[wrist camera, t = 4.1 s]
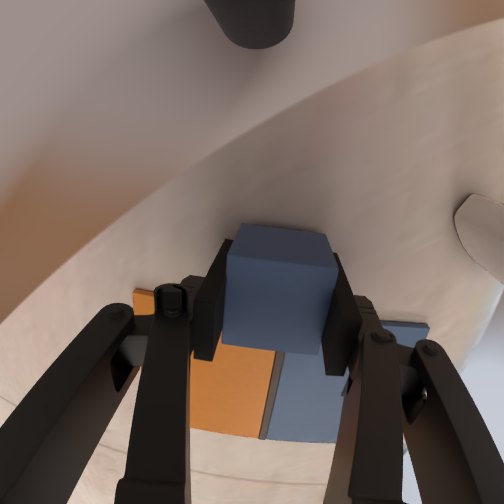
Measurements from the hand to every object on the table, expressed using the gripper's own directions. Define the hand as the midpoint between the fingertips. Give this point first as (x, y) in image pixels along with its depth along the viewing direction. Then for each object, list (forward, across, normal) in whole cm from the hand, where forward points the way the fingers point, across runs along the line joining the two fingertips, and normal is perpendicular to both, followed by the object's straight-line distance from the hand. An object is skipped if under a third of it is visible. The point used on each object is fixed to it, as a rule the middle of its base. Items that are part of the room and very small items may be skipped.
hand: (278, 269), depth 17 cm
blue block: (0, 0, 0) cm, 0 cm away
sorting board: (+1, +1, -10) cm, 10 cm away
